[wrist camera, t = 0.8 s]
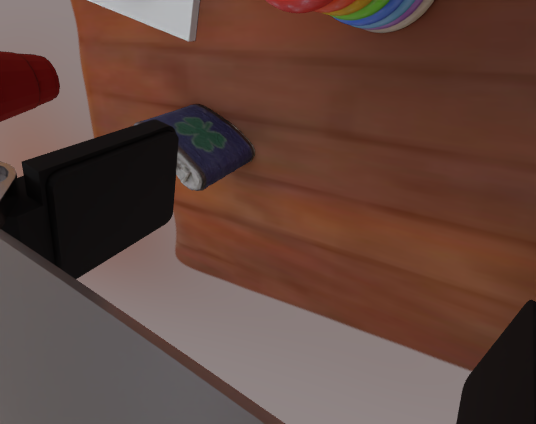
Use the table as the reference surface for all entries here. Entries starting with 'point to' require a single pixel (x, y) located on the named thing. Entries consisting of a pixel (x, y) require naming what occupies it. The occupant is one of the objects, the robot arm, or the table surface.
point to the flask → (206, 145)
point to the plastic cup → (25, 83)
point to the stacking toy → (362, 11)
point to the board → (160, 14)
